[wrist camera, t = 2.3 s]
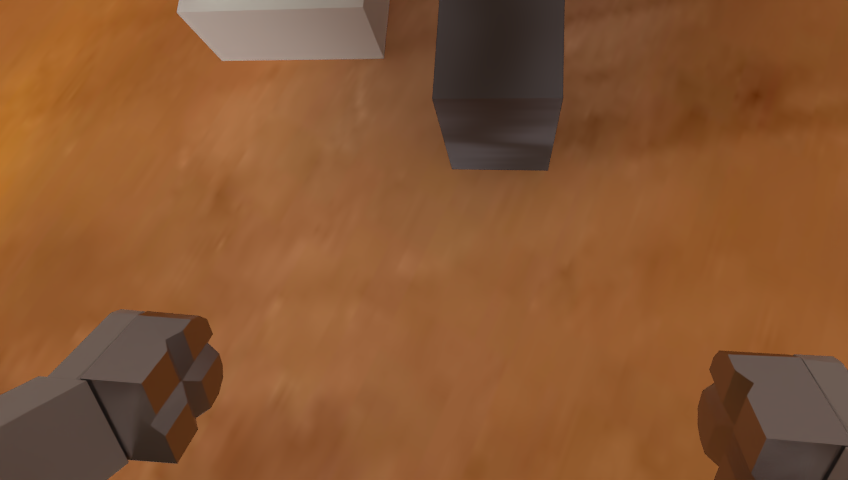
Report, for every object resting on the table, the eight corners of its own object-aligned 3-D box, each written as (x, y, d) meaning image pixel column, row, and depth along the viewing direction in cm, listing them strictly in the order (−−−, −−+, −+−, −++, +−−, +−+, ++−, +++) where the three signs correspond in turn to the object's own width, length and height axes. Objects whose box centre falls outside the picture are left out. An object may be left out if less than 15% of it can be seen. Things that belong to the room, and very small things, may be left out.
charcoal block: (549, 82, 29) (564, -18, 22) (547, 170, 28) (562, 98, 21) (457, 83, 30) (440, -13, 22) (452, 169, 29) (432, 98, 21)
